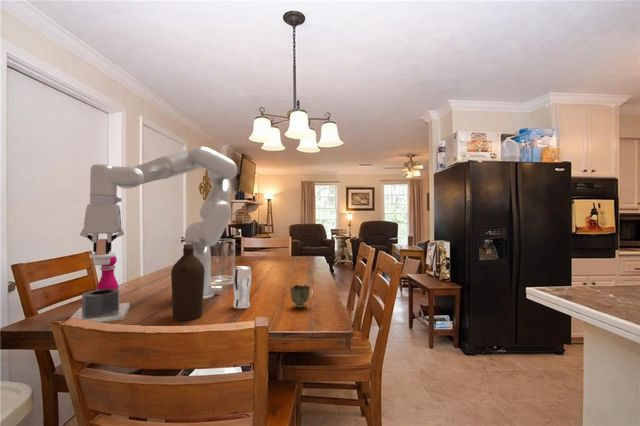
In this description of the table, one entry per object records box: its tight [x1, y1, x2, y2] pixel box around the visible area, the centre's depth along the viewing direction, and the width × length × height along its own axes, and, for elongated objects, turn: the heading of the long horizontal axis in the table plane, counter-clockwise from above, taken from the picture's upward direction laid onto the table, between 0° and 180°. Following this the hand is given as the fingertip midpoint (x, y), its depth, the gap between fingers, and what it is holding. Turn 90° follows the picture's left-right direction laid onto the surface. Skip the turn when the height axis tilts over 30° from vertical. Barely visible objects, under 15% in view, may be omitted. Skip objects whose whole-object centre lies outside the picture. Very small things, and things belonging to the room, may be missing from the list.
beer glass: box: [232, 265, 252, 310], centre depth 114 cm, size 7×7×15 cm
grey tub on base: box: [70, 288, 131, 323], centre depth 103 cm, size 15×15×8 cm
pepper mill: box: [96, 250, 119, 290], centre depth 123 cm, size 7×7×20 cm
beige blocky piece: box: [88, 238, 116, 266], centre depth 103 cm, size 7×7×8 cm
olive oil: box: [170, 243, 205, 322], centre depth 103 cm, size 11×11×25 cm
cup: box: [289, 284, 311, 309], centre depth 114 cm, size 8×7×8 cm
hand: (102, 253), depth 103 cm, fingers closed on beige blocky piece
